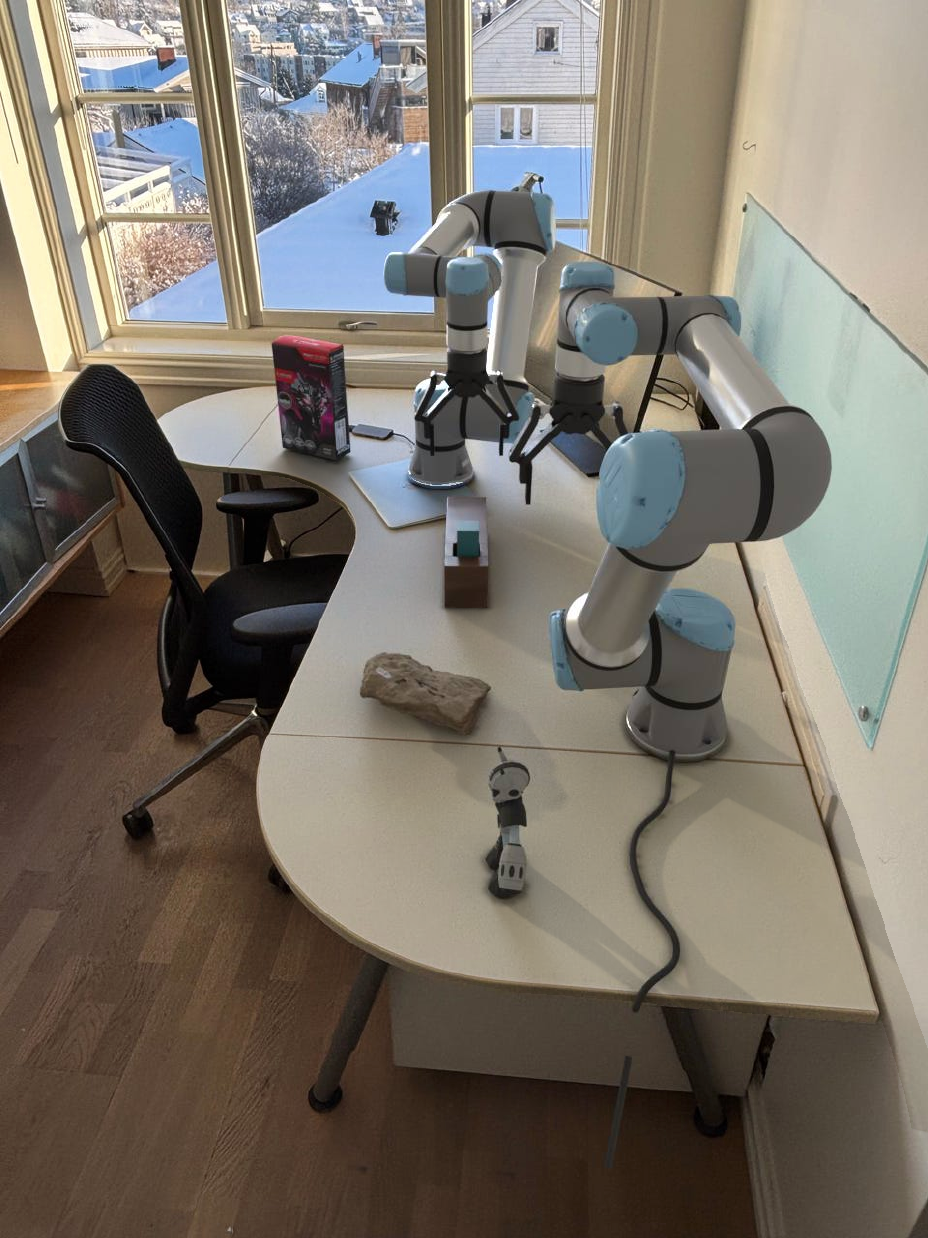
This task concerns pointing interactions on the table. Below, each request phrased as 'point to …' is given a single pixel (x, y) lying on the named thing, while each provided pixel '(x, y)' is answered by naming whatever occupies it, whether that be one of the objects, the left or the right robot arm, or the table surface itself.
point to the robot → (508, 827)
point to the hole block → (466, 573)
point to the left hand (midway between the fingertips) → (466, 453)
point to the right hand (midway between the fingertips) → (569, 501)
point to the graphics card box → (312, 396)
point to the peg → (467, 538)
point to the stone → (424, 691)
